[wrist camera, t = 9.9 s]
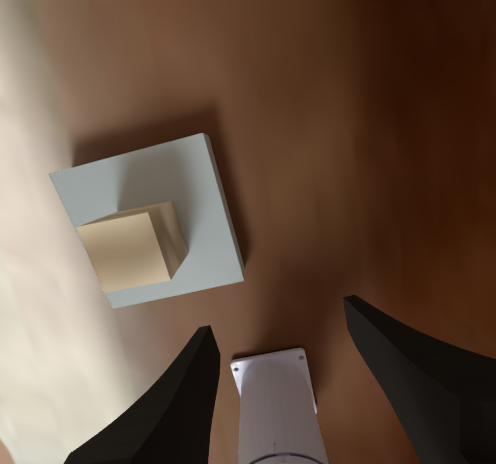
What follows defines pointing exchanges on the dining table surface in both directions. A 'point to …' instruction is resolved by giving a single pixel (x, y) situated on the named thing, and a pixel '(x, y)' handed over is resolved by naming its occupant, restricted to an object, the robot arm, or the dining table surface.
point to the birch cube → (135, 246)
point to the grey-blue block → (156, 191)
